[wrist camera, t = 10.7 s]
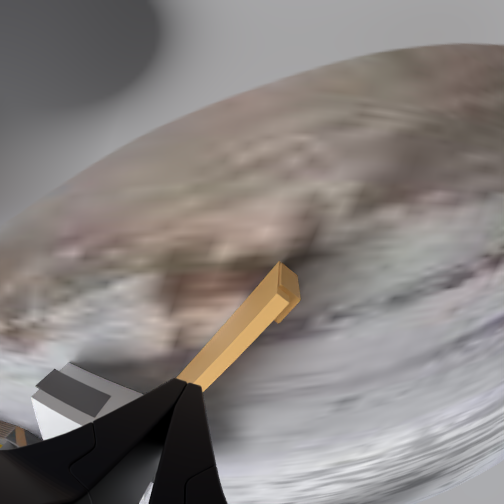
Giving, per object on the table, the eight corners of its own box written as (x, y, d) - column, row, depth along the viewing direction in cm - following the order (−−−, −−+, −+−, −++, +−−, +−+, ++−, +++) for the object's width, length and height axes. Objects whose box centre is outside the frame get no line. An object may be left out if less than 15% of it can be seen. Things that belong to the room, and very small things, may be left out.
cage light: (-65, 423, 24) (16, 471, 19) (-41, 403, 31) (48, 433, 27) (-21, 482, 26) (81, 537, 22) (-2, 461, 34) (101, 501, 30)
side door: (170, 406, 23) (144, 456, 17) (157, 397, 23) (129, 446, 17) (296, 270, 19) (302, 307, 13) (281, 257, 19) (280, 290, 13)
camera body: (188, 408, 23) (163, 468, 16) (180, 462, 25) (160, 513, 18) (64, 360, 23) (20, 398, 17) (72, 418, 25) (40, 457, 19)
